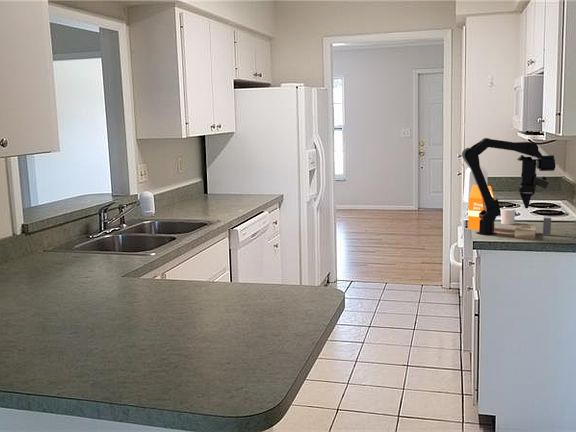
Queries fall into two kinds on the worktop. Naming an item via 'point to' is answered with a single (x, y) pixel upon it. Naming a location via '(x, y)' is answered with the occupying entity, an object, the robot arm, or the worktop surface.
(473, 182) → the milk
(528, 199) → the robot arm
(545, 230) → the square bit
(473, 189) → the orange juice
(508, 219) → the white cylinder
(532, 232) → the socket block
